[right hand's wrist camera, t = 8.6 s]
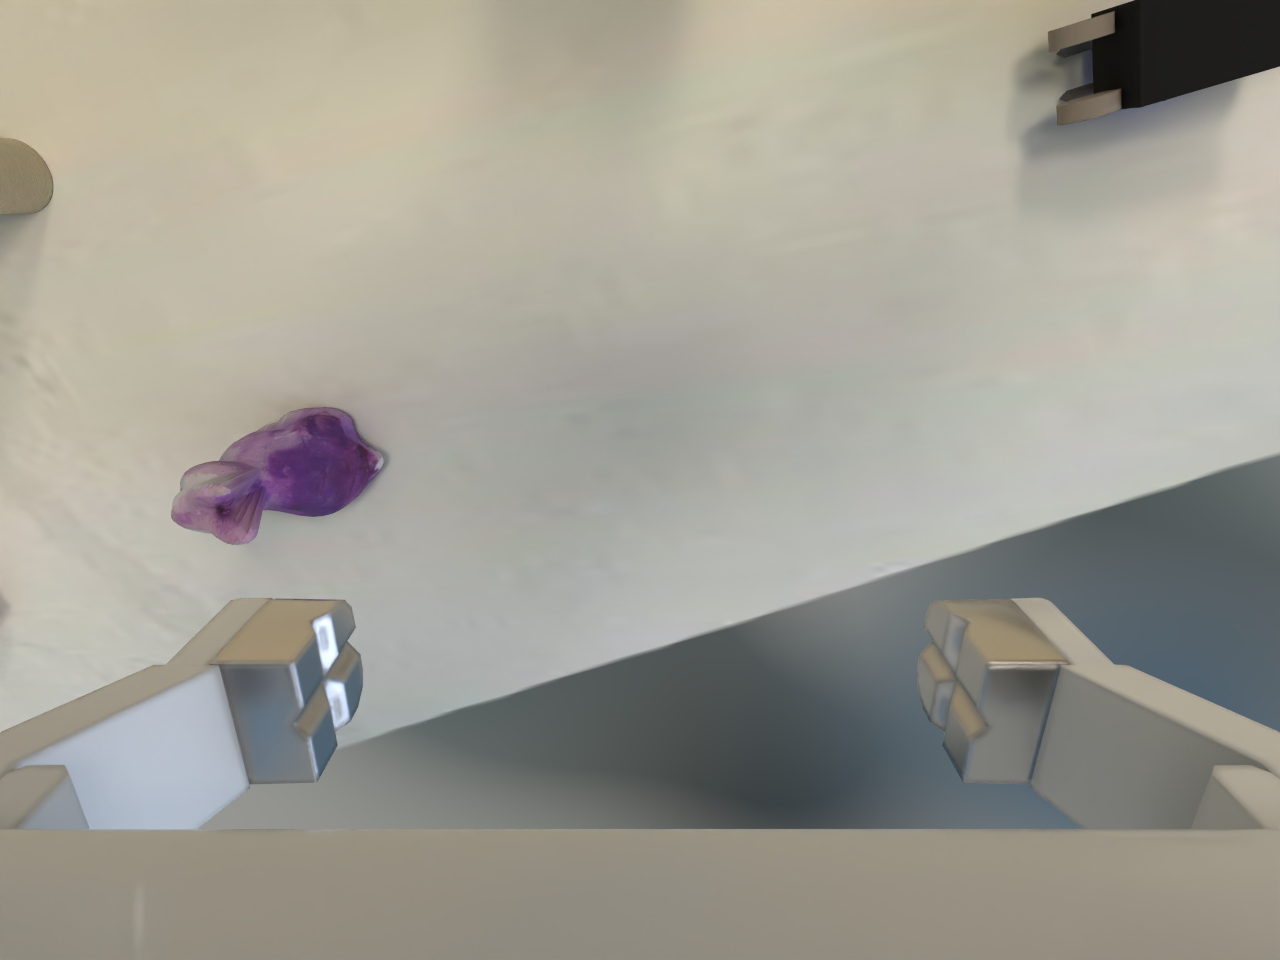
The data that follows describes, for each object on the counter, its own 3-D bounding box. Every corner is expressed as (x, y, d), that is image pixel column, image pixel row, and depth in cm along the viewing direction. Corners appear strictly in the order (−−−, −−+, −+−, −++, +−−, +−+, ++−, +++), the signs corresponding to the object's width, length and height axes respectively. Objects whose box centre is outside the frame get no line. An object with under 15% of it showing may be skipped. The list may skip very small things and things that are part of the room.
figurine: (230, 456, 60) (106, 536, 46) (305, 372, 57) (198, 431, 43) (322, 531, 63) (230, 628, 49) (398, 454, 60) (324, 534, 46)
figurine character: (1030, 139, 52) (1265, 65, 49) (1076, 135, 46) (1353, 49, 42) (1020, 36, 50) (1266, -48, 47) (1067, 16, 43) (1359, -84, 40)
